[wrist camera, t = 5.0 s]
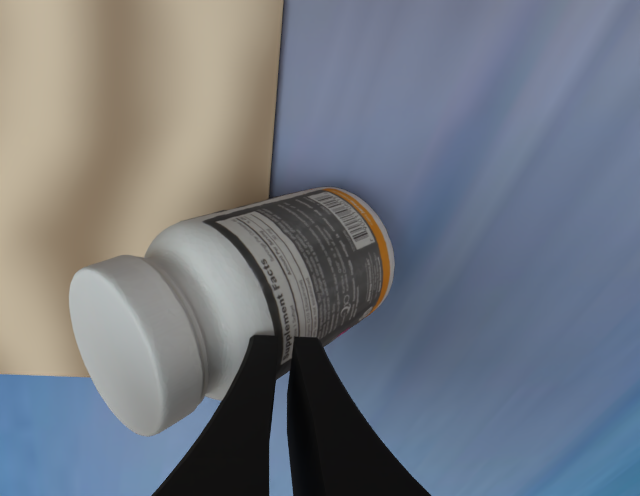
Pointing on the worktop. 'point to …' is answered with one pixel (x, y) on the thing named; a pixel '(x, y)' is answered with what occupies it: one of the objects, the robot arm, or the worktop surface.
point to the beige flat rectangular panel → (119, 143)
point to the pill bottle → (225, 299)
